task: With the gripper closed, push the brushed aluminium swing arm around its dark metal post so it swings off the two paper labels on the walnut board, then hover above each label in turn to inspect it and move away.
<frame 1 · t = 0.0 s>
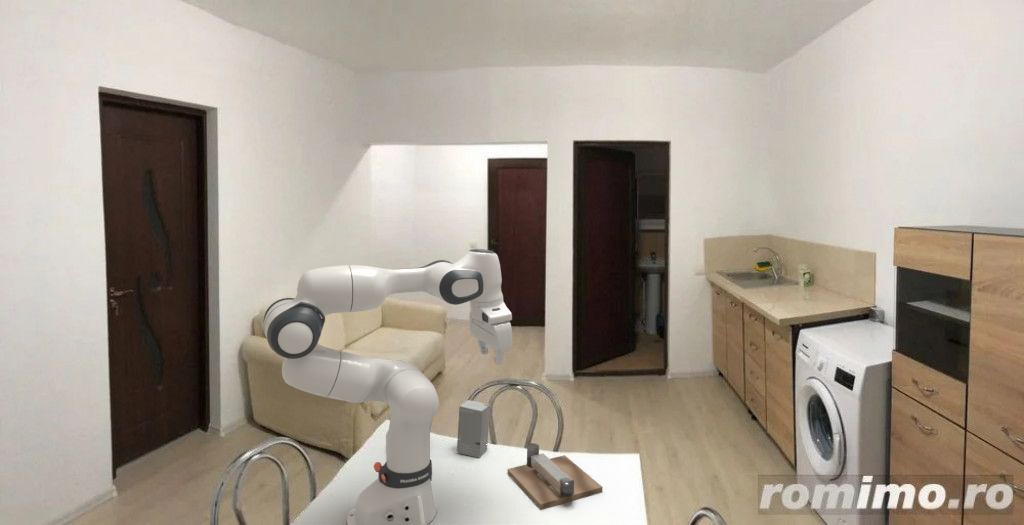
hand: (491, 358, 145), 39 cm above the table, tool pointing down, fingers open, 8 cm apart
label board: (553, 482, 156), on the table
decorative flower: (410, 449, 175), on the table
skincare box: (473, 451, 174), on the table
swing arm: (553, 474, 152), point 5 cm above the table, hinge at 0.0°
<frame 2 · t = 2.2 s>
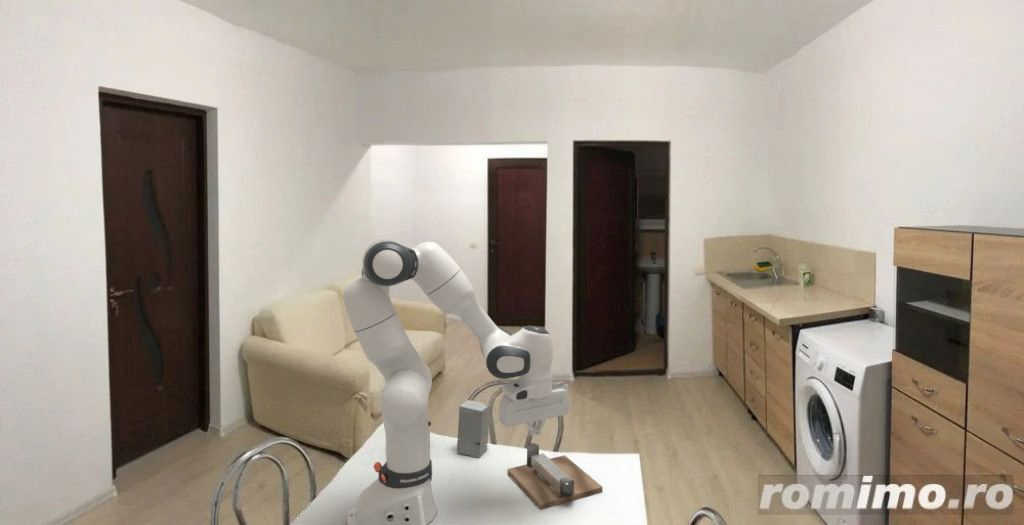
hand: (534, 434, 146), 18 cm above the table, tool pointing down, fingers closed
nothing on the table moved.
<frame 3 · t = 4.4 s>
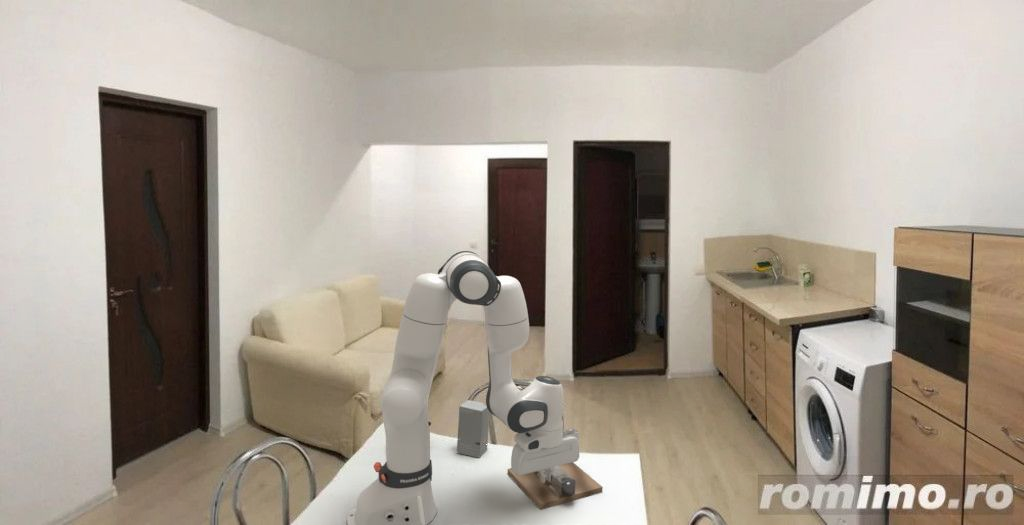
hand: (545, 481, 150), 4 cm above the table, tool pointing down, fingers closed
swing arm: (553, 473, 152), point 5 cm above the table, hinge at 1.2°, touching gripper
everything else where it was.
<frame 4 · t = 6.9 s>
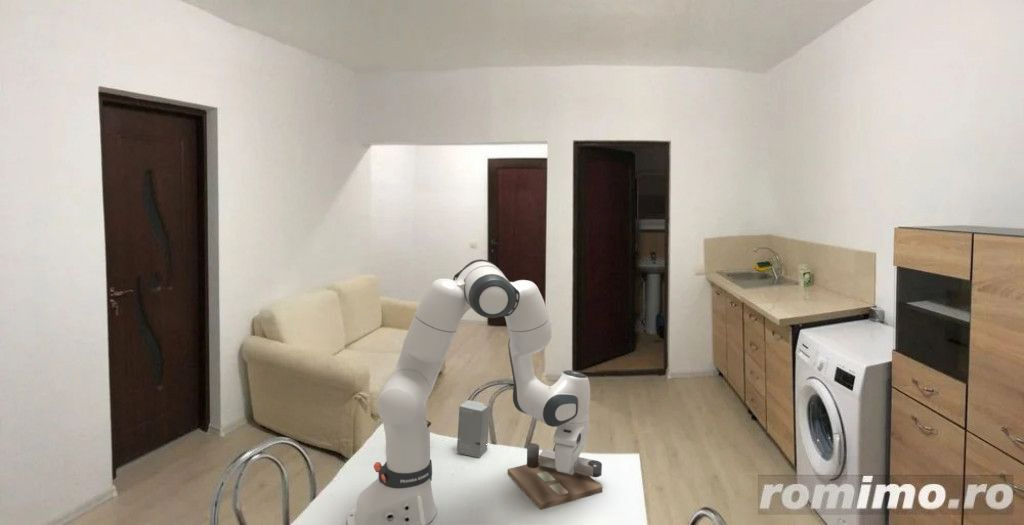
hand: (571, 472, 155), 4 cm above the table, tool pointing down, fingers closed
swing arm: (570, 463, 158), point 4 cm above the table, hinge at 41.3°, touching gripper
everything else where it was.
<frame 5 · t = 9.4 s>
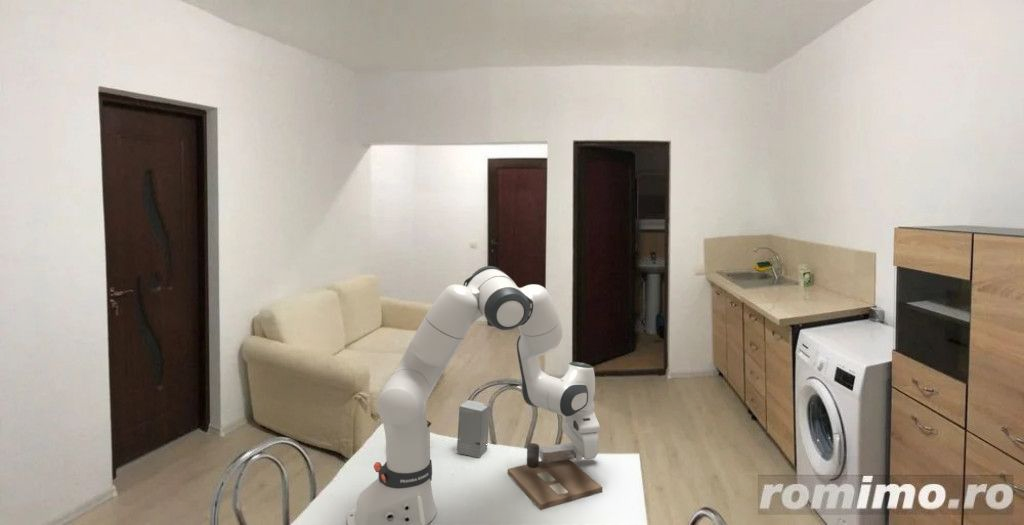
hand: (577, 458, 163), 4 cm above the table, tool pointing down, fingers closed
swing arm: (569, 451, 166), point 5 cm above the table, hinge at 78.7°, touching gripper
everything else where it was.
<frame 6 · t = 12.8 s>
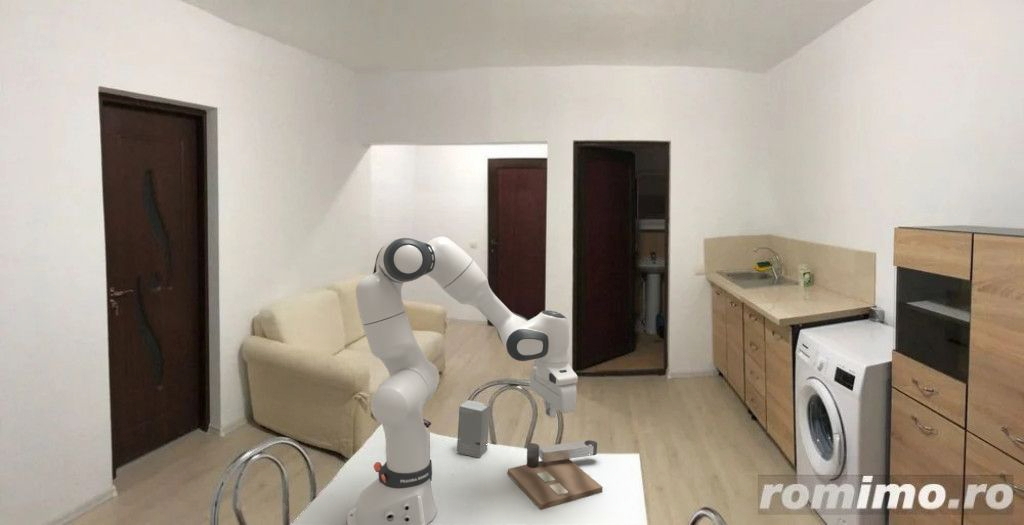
hand: (550, 415, 152), 21 cm above the table, tool pointing down, fingers closed
swing arm: (569, 450, 166), point 5 cm above the table, hinge at 80.0°
everything else where it was.
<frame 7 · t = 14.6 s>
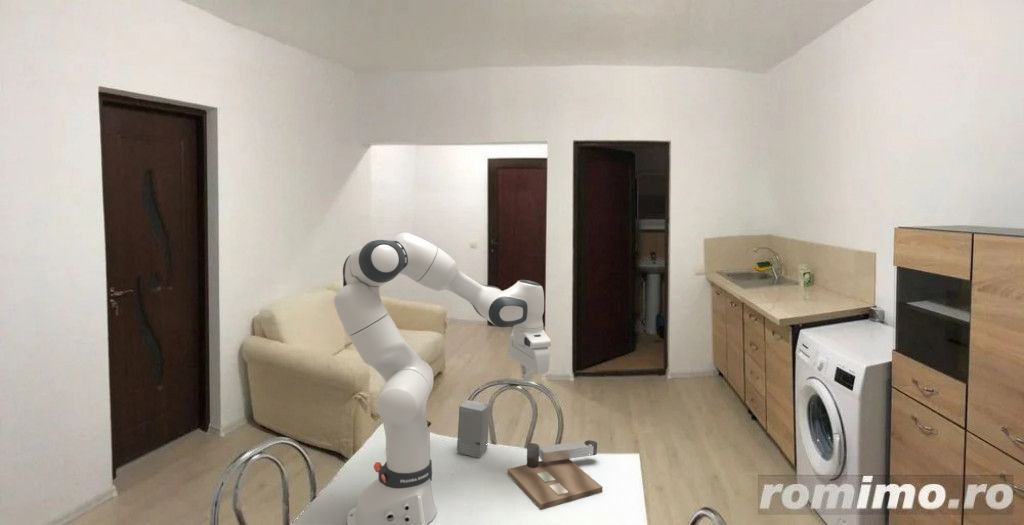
hand: (526, 379, 161), 28 cm above the table, tool pointing down, fingers closed
nothing on the table moved.
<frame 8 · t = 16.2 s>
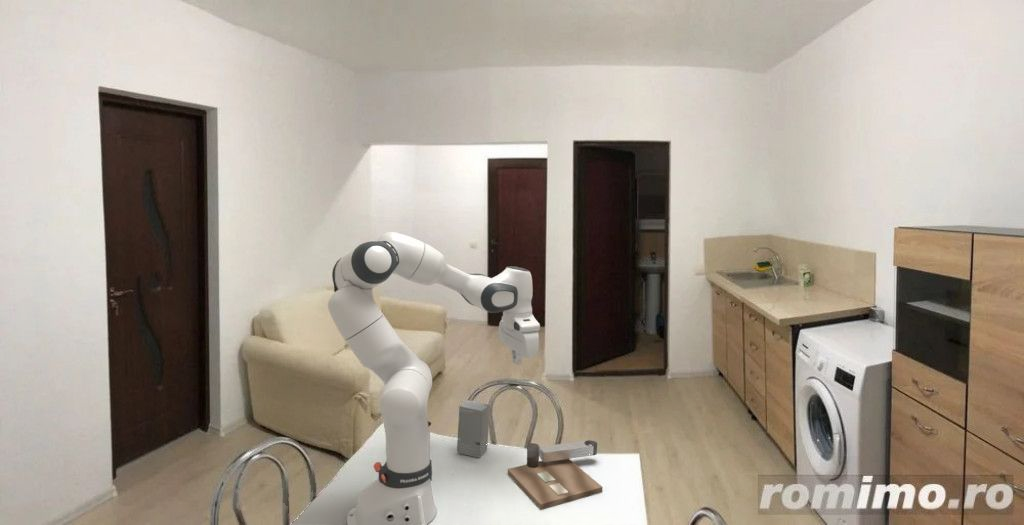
hand: (516, 363, 165), 31 cm above the table, tool pointing down, fingers closed
nothing on the table moved.
at the end: swing arm at +80° (first picture: +0°); skincare box moved 0.2 cm from its start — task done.
